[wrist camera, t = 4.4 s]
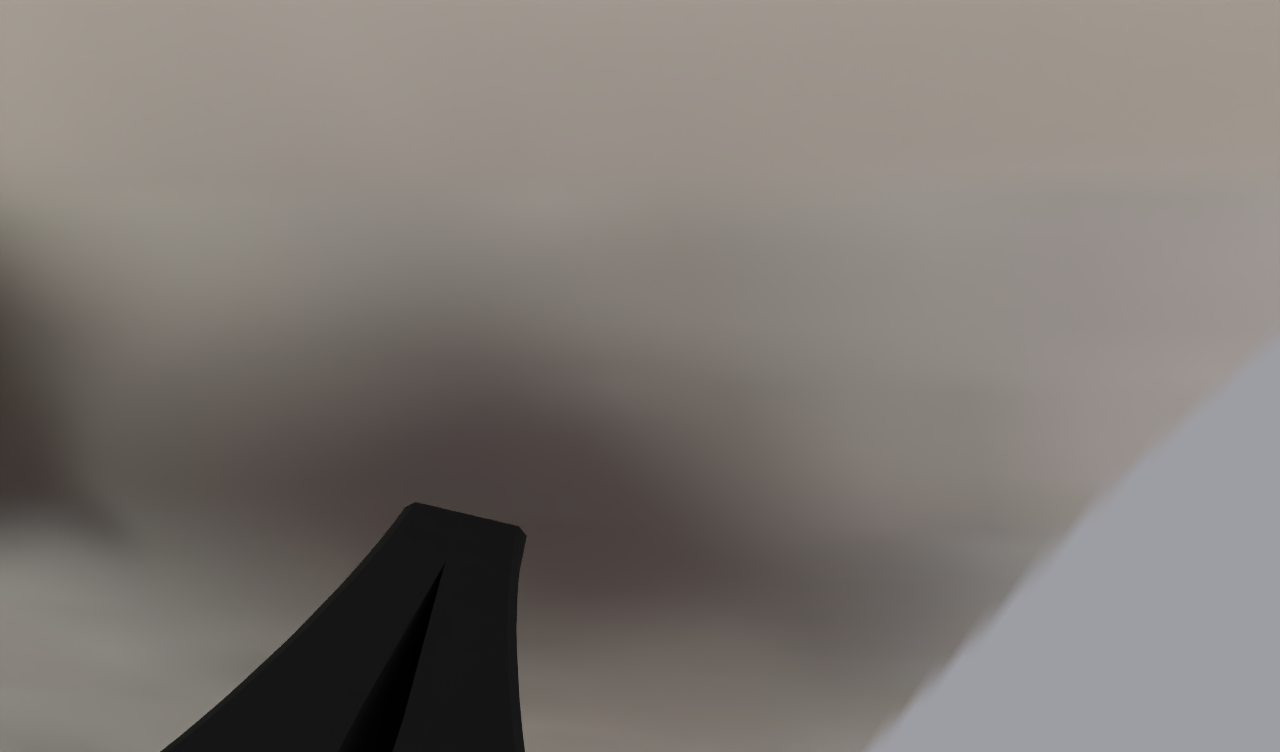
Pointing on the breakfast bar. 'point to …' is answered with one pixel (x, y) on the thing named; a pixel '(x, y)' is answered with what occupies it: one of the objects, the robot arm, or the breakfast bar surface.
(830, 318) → the breakfast bar surface
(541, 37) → the breakfast bar surface
